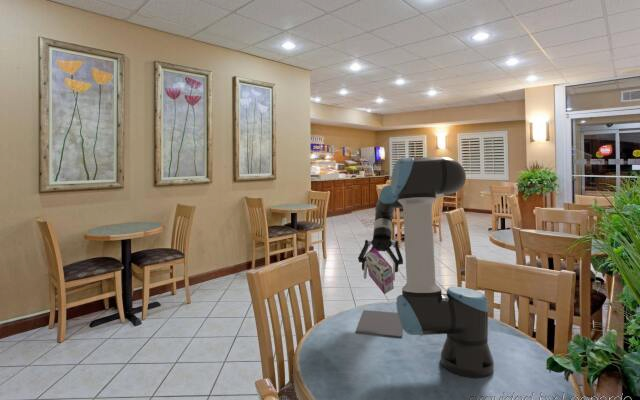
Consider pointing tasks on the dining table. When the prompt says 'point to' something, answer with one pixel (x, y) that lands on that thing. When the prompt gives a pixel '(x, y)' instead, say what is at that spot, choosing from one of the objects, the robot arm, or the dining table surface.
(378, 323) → the charcoal mat
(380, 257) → the candy bar box
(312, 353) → the dining table surface
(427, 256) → the robot arm
